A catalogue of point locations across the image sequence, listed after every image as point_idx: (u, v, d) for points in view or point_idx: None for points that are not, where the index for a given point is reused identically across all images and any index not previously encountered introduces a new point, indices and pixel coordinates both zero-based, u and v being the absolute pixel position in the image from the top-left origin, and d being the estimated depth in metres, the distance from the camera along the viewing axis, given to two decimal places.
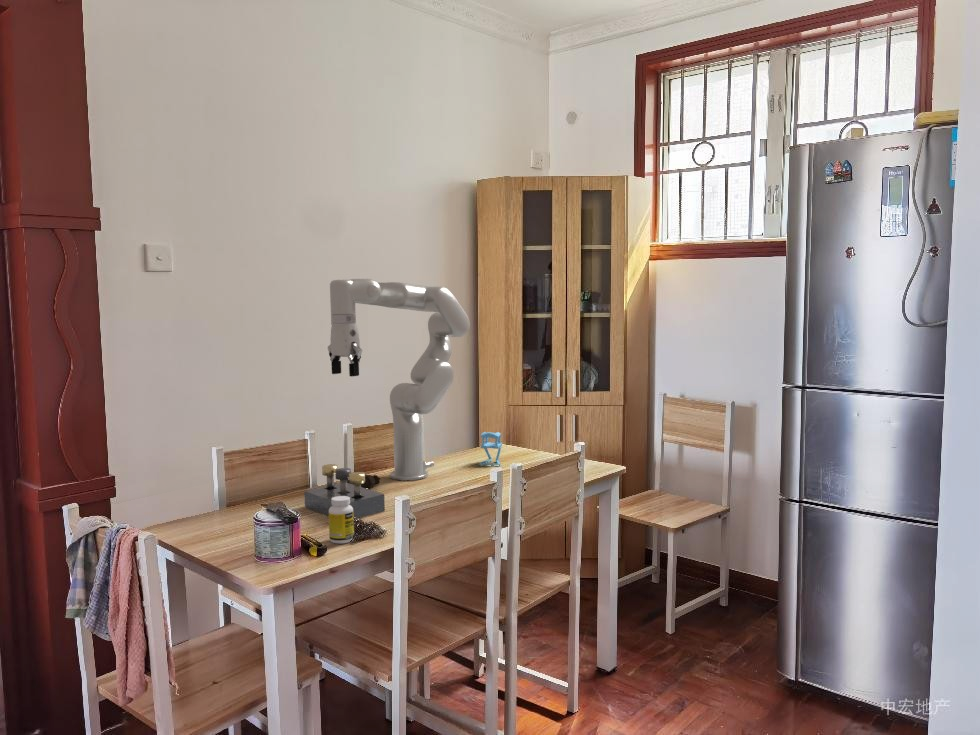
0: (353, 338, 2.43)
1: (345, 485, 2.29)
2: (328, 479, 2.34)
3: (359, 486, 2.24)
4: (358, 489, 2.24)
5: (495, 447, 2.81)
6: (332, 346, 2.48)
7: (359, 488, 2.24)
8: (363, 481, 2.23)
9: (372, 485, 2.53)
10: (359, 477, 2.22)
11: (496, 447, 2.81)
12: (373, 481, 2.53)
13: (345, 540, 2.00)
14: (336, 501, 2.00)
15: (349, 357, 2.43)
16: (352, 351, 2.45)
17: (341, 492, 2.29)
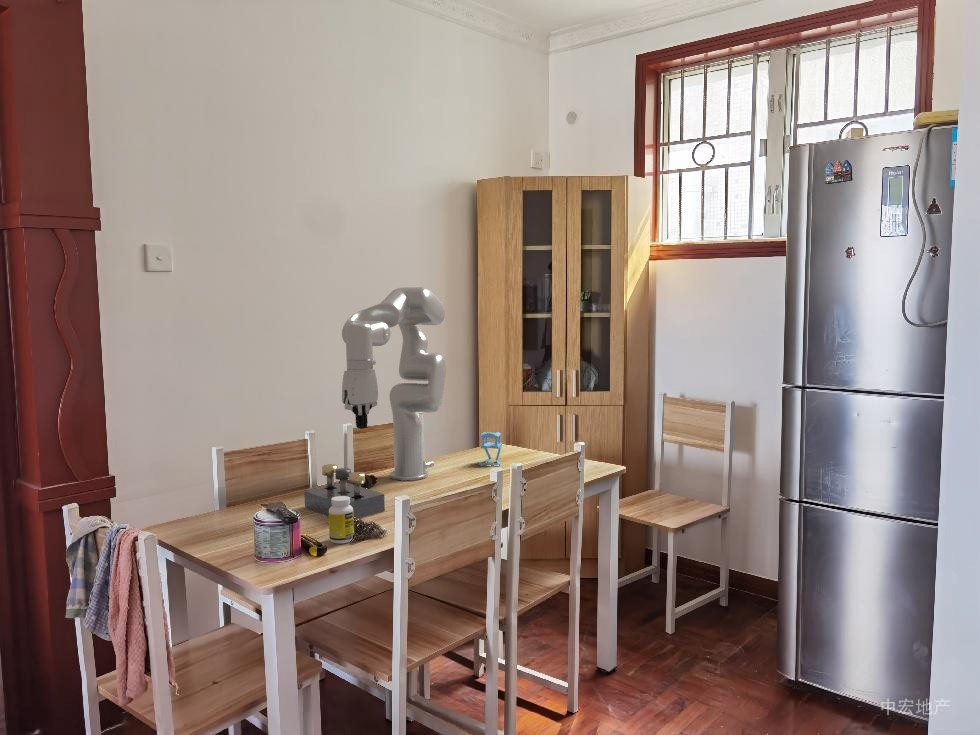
0: None
1: (345, 485, 2.29)
2: (328, 479, 2.34)
3: (359, 486, 2.24)
4: (358, 489, 2.24)
5: (495, 447, 2.81)
6: (355, 395, 2.28)
7: (359, 488, 2.24)
8: (363, 481, 2.23)
9: (369, 485, 2.53)
10: (359, 477, 2.22)
11: (496, 447, 2.81)
12: (370, 481, 2.53)
13: (345, 540, 2.00)
14: (336, 501, 2.00)
15: (368, 407, 2.32)
16: None
17: (341, 492, 2.29)
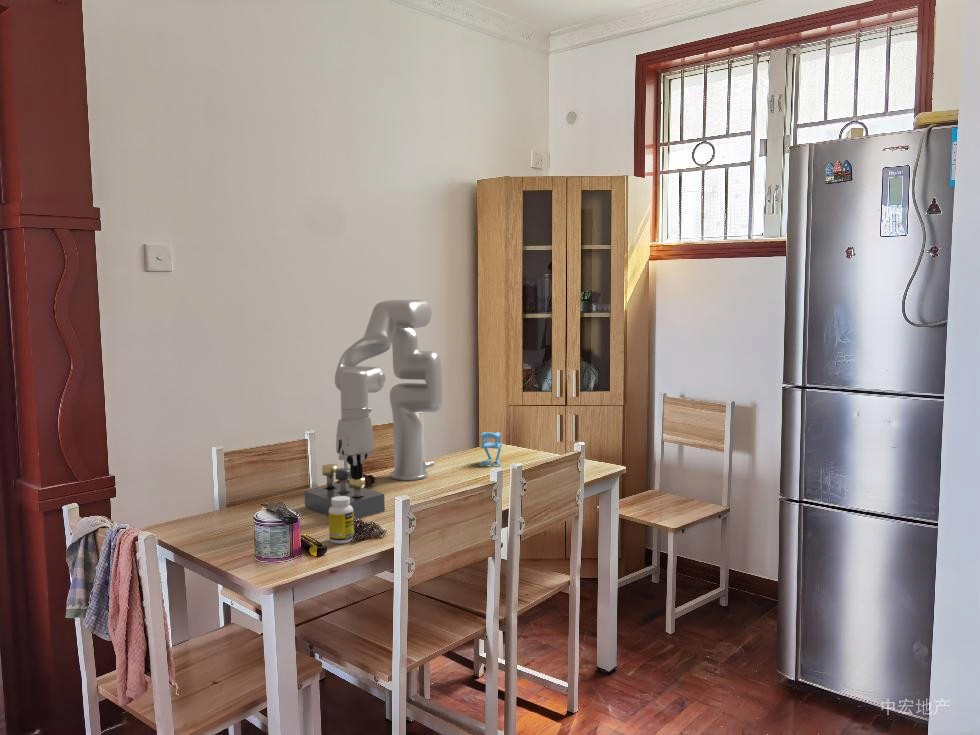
0: None
1: (345, 485, 2.29)
2: (328, 479, 2.34)
3: (359, 490, 2.24)
4: (358, 494, 2.24)
5: (495, 447, 2.81)
6: (350, 445, 2.19)
7: (359, 492, 2.24)
8: (363, 485, 2.24)
9: (368, 485, 2.53)
10: (359, 481, 2.22)
11: (496, 447, 2.81)
12: (369, 481, 2.53)
13: (345, 540, 2.00)
14: (336, 501, 2.00)
15: (363, 456, 2.23)
16: None
17: (341, 492, 2.29)
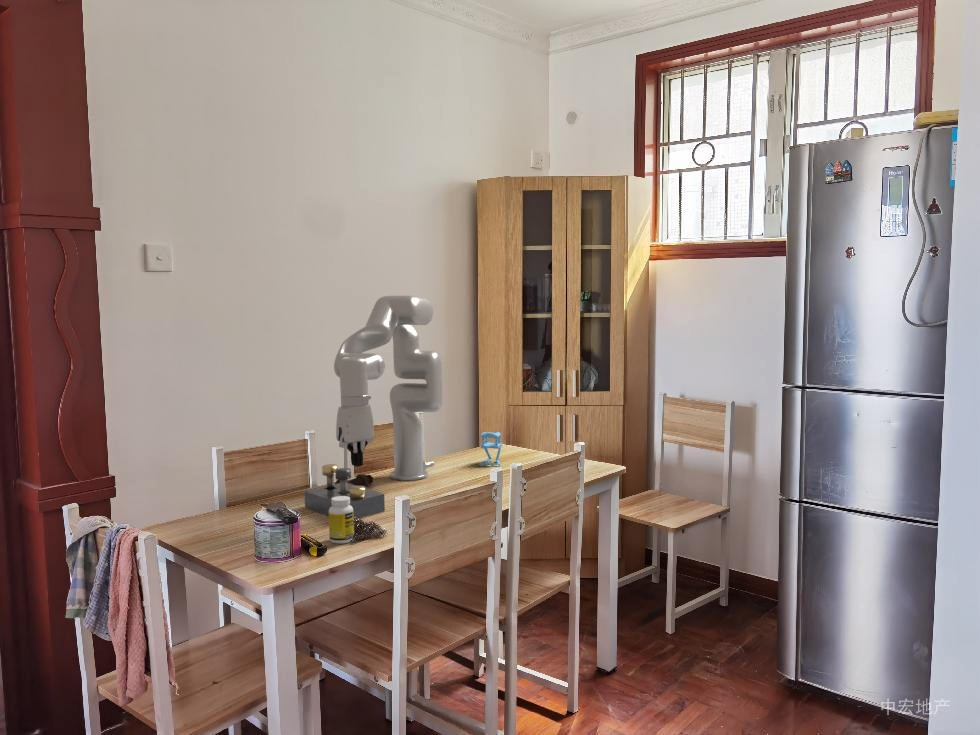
0: None
1: (345, 485, 2.29)
2: (328, 479, 2.34)
3: None
4: None
5: (495, 447, 2.81)
6: (350, 433, 2.19)
7: None
8: (363, 495, 2.24)
9: (366, 485, 2.53)
10: (360, 491, 2.23)
11: (496, 447, 2.81)
12: (367, 481, 2.53)
13: (345, 540, 2.00)
14: (336, 501, 2.00)
15: (363, 444, 2.24)
16: None
17: (341, 492, 2.29)
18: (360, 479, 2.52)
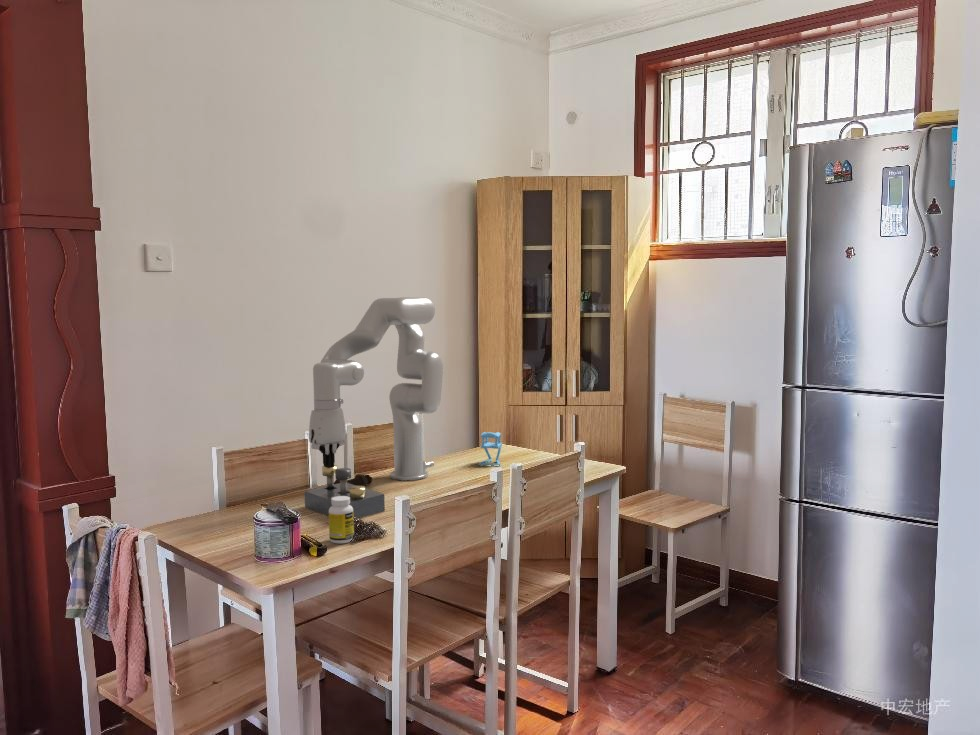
0: None
1: (345, 485, 2.29)
2: (328, 479, 2.34)
3: None
4: None
5: (495, 447, 2.81)
6: (322, 435, 2.29)
7: None
8: (363, 495, 2.24)
9: (365, 485, 2.53)
10: (360, 491, 2.23)
11: (496, 447, 2.81)
12: (366, 481, 2.53)
13: (345, 540, 2.00)
14: (336, 501, 2.00)
15: (335, 446, 2.33)
16: None
17: (341, 492, 2.29)
18: (359, 479, 2.52)
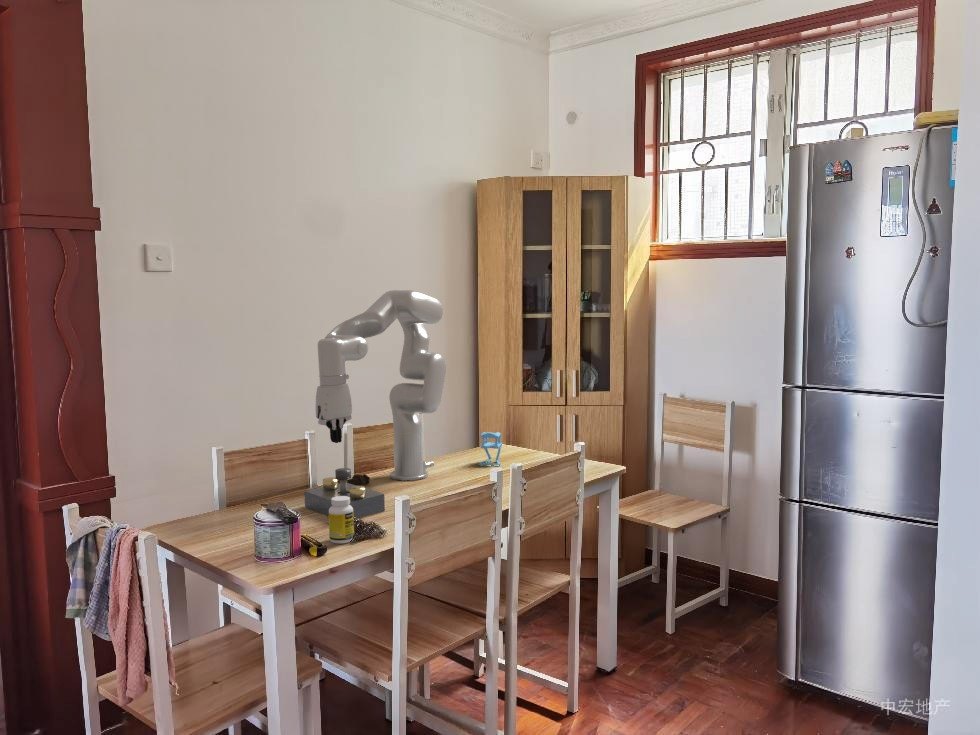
0: None
1: (345, 485, 2.29)
2: None
3: None
4: None
5: (495, 447, 2.81)
6: (328, 410, 2.30)
7: None
8: (363, 495, 2.24)
9: (363, 485, 2.54)
10: (360, 491, 2.23)
11: (496, 447, 2.81)
12: (364, 481, 2.53)
13: (345, 540, 2.00)
14: (336, 501, 2.00)
15: (342, 421, 2.34)
16: None
17: (341, 492, 2.29)
18: (356, 479, 2.52)
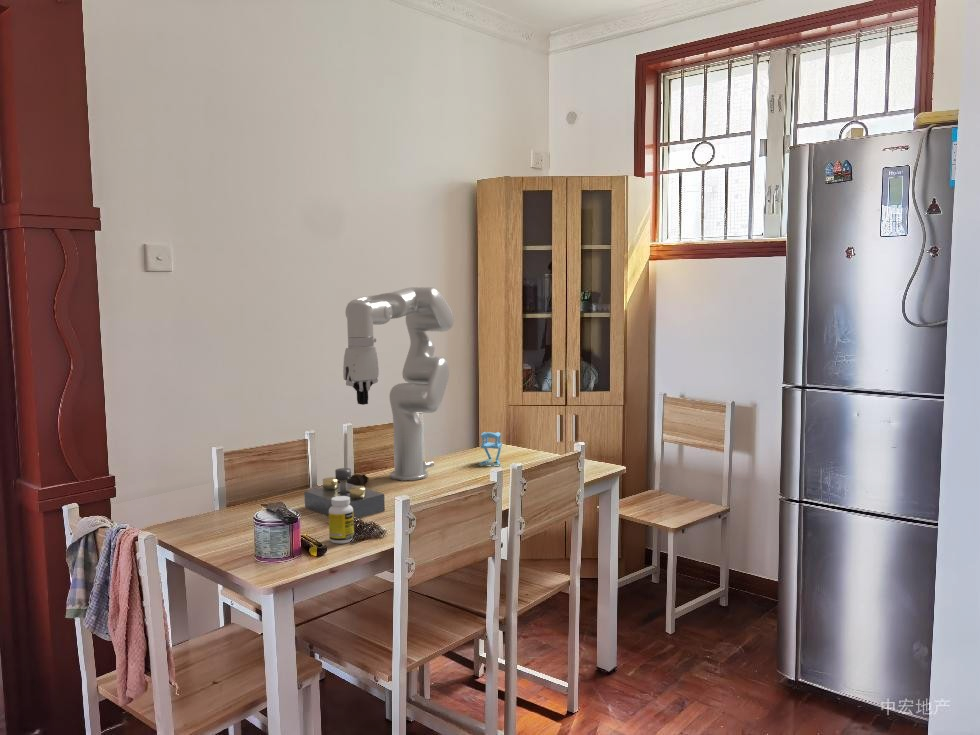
0: None
1: (345, 485, 2.29)
2: None
3: None
4: None
5: (495, 447, 2.81)
6: (356, 372, 2.34)
7: None
8: (363, 495, 2.24)
9: (361, 485, 2.54)
10: (360, 491, 2.23)
11: (496, 447, 2.81)
12: (362, 481, 2.54)
13: (345, 540, 2.00)
14: (336, 501, 2.00)
15: (368, 383, 2.38)
16: None
17: (341, 492, 2.29)
18: (355, 479, 2.52)
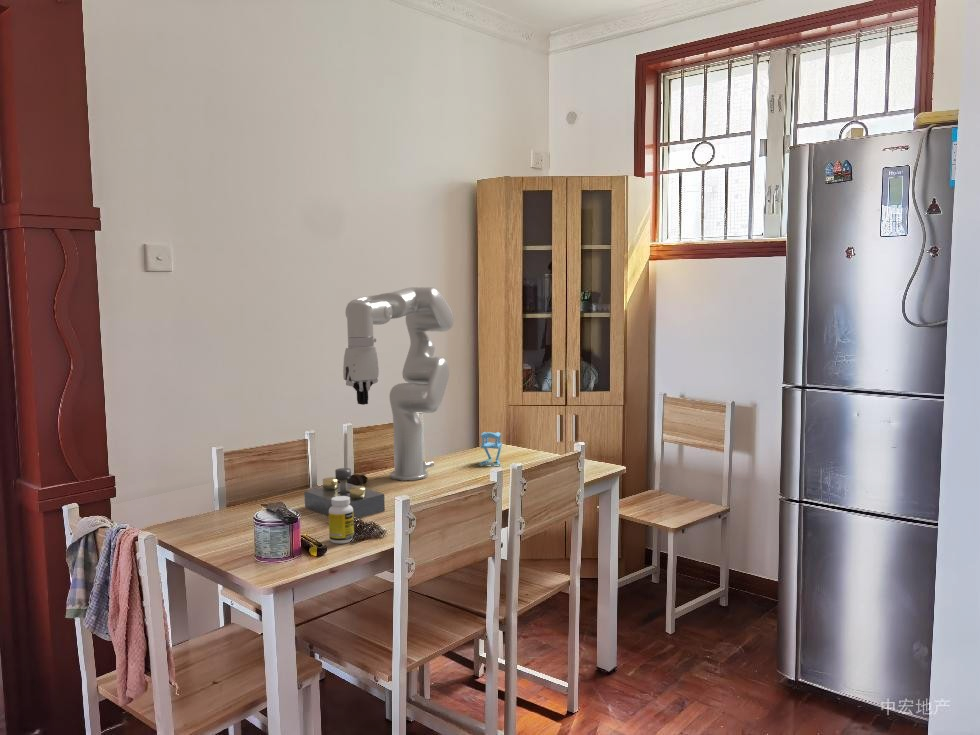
0: None
1: (345, 485, 2.29)
2: None
3: None
4: None
5: (495, 447, 2.81)
6: (356, 372, 2.34)
7: None
8: (363, 495, 2.24)
9: (361, 485, 2.54)
10: (360, 491, 2.23)
11: (496, 447, 2.81)
12: (362, 481, 2.54)
13: (345, 540, 2.00)
14: (336, 501, 2.00)
15: (368, 383, 2.38)
16: None
17: (341, 492, 2.29)
18: (354, 479, 2.52)
